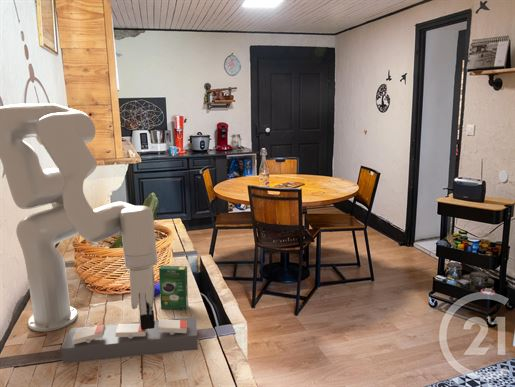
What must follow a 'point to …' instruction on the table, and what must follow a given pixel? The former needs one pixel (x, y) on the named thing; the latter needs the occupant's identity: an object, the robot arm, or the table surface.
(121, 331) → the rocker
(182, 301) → the coffee box
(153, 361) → the table surface
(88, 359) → the rocker switch panel
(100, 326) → the rocker
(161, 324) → the rocker
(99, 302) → the table surface
